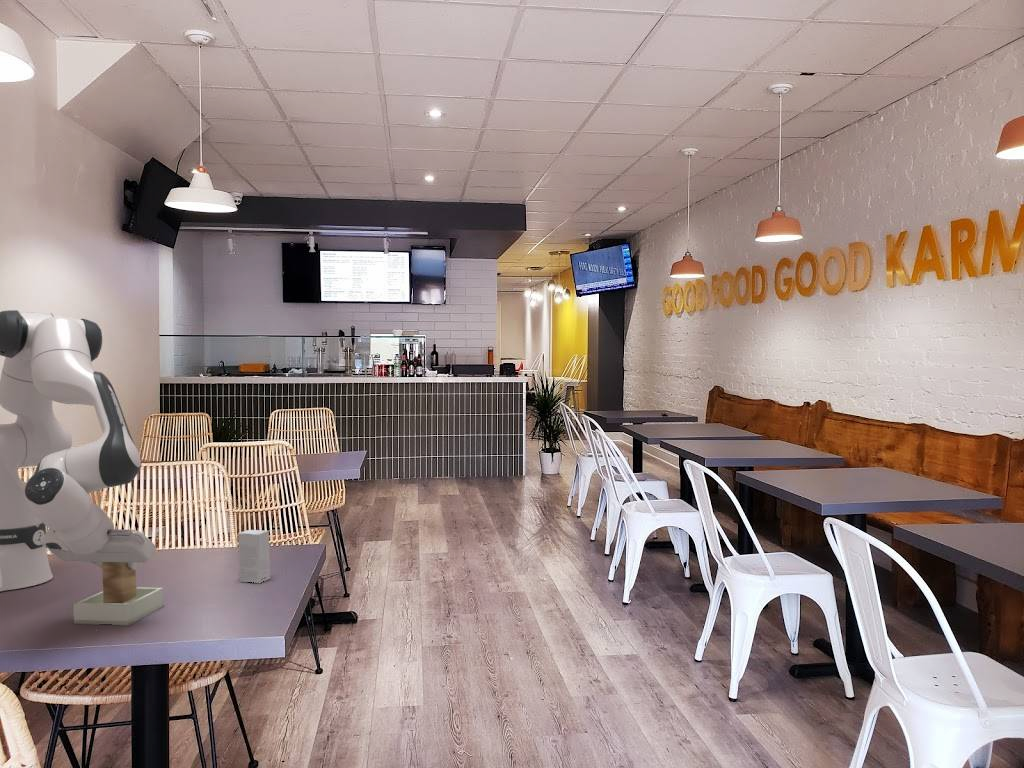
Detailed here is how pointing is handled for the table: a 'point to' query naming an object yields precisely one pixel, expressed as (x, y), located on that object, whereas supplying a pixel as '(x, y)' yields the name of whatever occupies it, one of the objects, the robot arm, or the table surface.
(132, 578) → the oak block
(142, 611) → the bin
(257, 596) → the table surface
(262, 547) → the skincare box
